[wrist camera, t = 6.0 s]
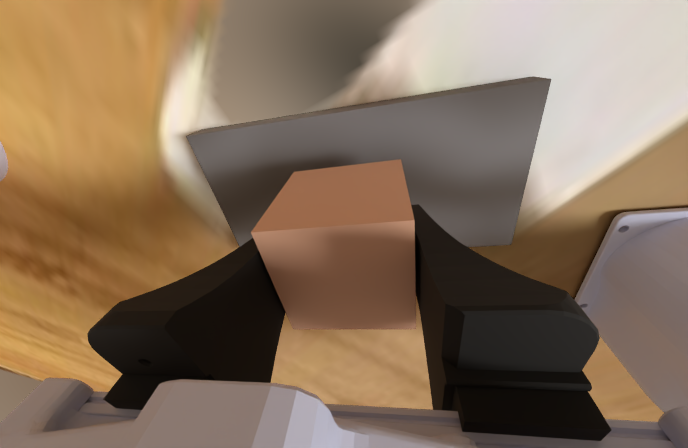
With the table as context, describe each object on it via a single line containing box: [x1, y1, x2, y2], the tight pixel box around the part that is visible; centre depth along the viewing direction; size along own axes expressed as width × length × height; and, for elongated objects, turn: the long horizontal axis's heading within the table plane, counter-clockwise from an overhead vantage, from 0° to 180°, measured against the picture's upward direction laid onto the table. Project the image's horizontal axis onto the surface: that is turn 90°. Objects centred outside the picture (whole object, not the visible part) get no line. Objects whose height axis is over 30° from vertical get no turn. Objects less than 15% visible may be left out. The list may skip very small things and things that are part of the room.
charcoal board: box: [186, 77, 551, 247], centre depth 16 cm, size 9×18×2 cm, turn 99°
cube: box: [251, 159, 416, 329], centre depth 11 cm, size 5×5×5 cm
